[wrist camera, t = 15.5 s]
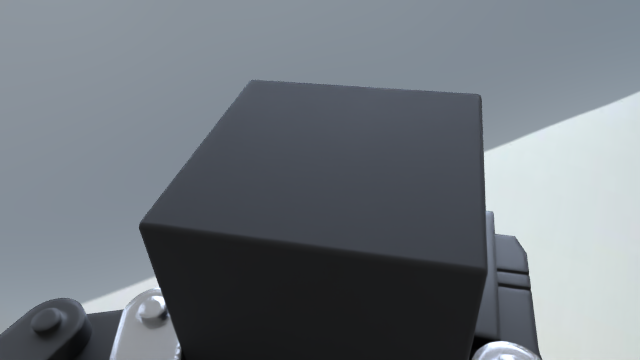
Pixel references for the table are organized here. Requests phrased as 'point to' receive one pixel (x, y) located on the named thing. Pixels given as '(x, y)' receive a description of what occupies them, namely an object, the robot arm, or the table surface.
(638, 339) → the table surface
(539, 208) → the table surface
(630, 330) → the table surface
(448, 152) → the tall dark pillar
